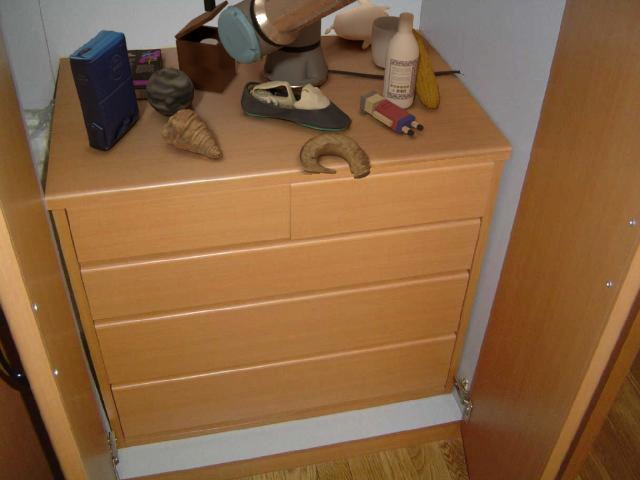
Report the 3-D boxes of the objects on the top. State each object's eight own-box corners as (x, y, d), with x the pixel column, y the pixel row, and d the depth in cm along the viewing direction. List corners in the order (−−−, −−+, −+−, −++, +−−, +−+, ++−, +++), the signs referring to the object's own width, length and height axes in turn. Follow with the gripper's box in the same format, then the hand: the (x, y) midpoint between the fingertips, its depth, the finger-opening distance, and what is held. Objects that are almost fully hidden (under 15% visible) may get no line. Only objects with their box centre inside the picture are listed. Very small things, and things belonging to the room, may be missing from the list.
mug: (367, 54, 166) (370, 15, 159) (403, 54, 166) (407, 15, 160) (372, 78, 156) (376, 38, 150) (410, 78, 157) (415, 38, 150)
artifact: (313, 124, 133) (384, 141, 129) (314, 136, 136) (383, 153, 132) (289, 161, 127) (363, 180, 122) (291, 173, 129) (363, 193, 125)
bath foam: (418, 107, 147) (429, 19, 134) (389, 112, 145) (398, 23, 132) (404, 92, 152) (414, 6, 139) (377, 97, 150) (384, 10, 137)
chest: (236, 74, 157) (233, 29, 149) (221, 93, 150) (217, 46, 142) (197, 68, 158) (192, 23, 151) (181, 86, 152) (175, 40, 144)
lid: (228, 3, 146) (226, -1, 145) (212, 19, 139) (210, 16, 138) (193, 23, 151) (191, 19, 151) (176, 39, 144) (173, 36, 144)
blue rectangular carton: (109, 155, 130) (88, 59, 117) (85, 150, 131) (61, 55, 118) (143, 119, 141) (127, 28, 128) (120, 115, 142) (102, 24, 129)
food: (396, 44, 155) (389, 30, 150) (418, 32, 154) (412, 18, 149) (427, 117, 148) (420, 105, 142) (450, 106, 146) (445, 94, 141)
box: (159, 101, 147) (163, 60, 162) (157, 86, 145) (161, 46, 159) (95, 103, 146) (104, 61, 160) (91, 89, 143) (101, 47, 158)
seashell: (216, 174, 133) (236, 142, 135) (213, 160, 125) (234, 126, 127) (157, 142, 134) (178, 110, 136) (150, 126, 126) (172, 92, 128)
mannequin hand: (386, 46, 177) (400, 43, 166) (320, 54, 174) (331, 52, 163) (381, -3, 174) (395, -9, 163) (315, 5, 171) (324, -1, 160)
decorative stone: (196, 123, 140) (191, 80, 133) (148, 126, 138) (141, 82, 132) (196, 100, 147) (192, 58, 141) (150, 102, 146) (144, 60, 139)
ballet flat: (343, 139, 136) (345, 104, 130) (234, 119, 141) (231, 84, 136) (354, 119, 142) (356, 85, 136) (249, 100, 147) (247, 66, 142)
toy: (424, 135, 140) (373, 103, 147) (428, 118, 137) (376, 86, 144) (405, 145, 137) (354, 112, 144) (409, 128, 134) (356, 96, 141)
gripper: (237, -114, 129) (244, 6, 144) (175, -120, 131) (189, -1, 146) (223, -105, 123) (232, 19, 139) (159, -111, 126) (174, 12, 141)
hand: (210, 9), depth 142 cm, fingers closed
